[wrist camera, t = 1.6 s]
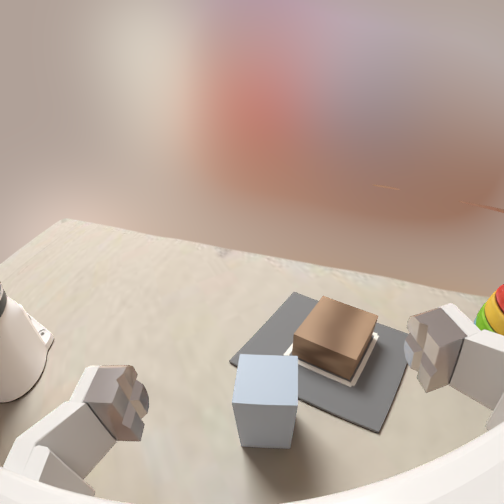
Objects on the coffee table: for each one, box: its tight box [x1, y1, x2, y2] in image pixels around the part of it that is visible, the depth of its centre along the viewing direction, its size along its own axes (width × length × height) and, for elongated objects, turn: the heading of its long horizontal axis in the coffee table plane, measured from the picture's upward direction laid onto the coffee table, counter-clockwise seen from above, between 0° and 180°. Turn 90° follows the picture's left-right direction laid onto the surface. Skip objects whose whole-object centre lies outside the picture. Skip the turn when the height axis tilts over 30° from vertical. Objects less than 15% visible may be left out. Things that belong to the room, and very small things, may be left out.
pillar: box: [232, 354, 298, 449], centre depth 26 cm, size 5×5×10 cm
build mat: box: [230, 292, 409, 433], centre depth 36 cm, size 20×16×1 cm
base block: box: [292, 296, 378, 380], centre depth 36 cm, size 8×8×4 cm
